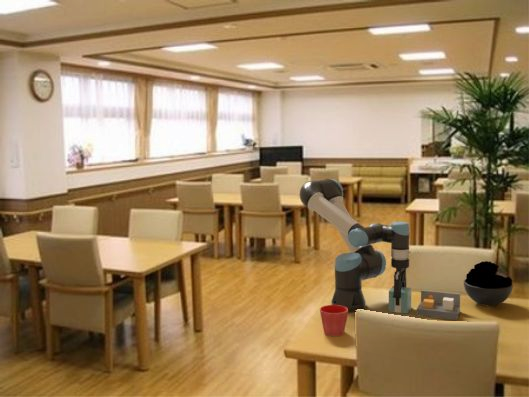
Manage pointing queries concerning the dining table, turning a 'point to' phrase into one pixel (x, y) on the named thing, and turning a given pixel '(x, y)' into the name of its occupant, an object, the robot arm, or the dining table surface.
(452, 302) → the plain button
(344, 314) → the flower pot
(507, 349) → the dining table surface
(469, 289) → the bowl of black rocks
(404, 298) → the cover
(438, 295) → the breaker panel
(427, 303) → the tagged button
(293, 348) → the dining table surface
